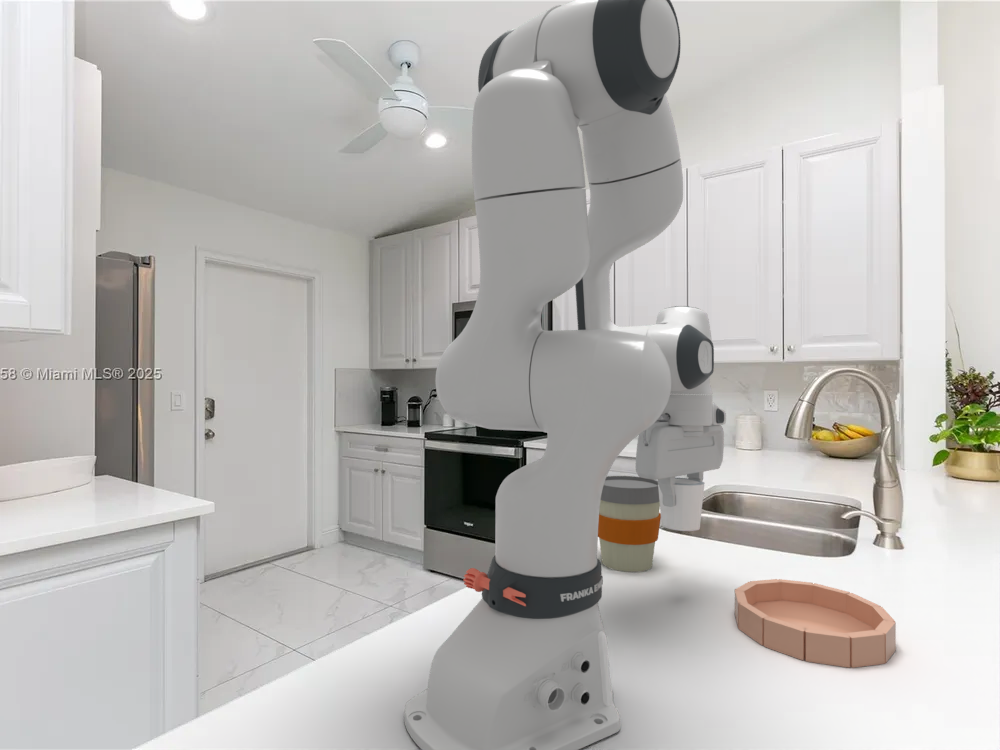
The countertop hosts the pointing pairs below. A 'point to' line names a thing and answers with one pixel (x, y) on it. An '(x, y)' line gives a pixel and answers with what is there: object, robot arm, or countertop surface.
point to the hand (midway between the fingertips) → (681, 503)
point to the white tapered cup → (683, 506)
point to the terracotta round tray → (815, 622)
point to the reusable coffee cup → (629, 522)
